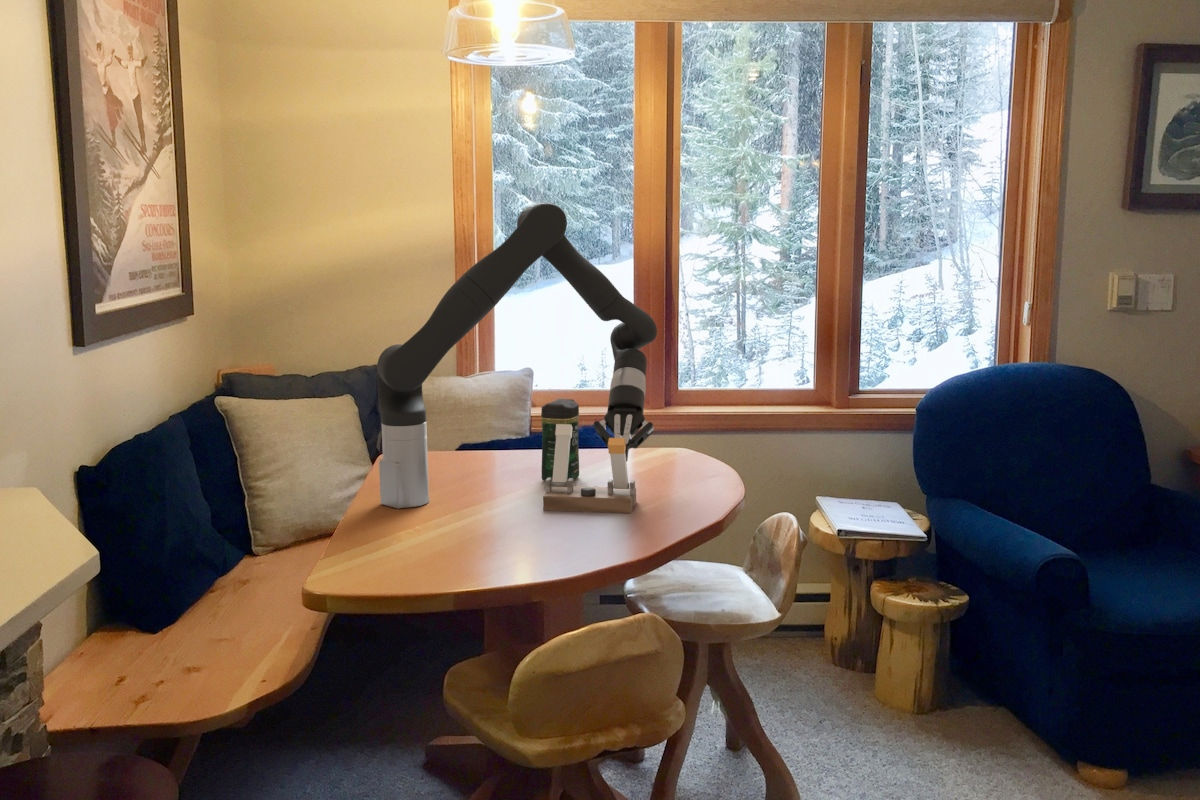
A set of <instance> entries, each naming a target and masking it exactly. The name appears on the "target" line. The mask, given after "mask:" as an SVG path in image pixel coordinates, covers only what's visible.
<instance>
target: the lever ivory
mask: <svg viewBox="0 0 1200 800" xmlns="http://www.w3.org/2000/svg"><path fill="white" fill-rule="evenodd" d="M572 429H573V427H572V425H571V424H556V432H555V435H556V444H555V456H554V467H553V478H552V482H551V486H552V487H567V475H568V463H569V451H570V440H571V438H572Z"/></svg>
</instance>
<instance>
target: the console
mask: <svg viewBox="0 0 1200 800" xmlns="http://www.w3.org/2000/svg"><path fill="white" fill-rule="evenodd" d="M544 483H545V484H544V486H545V487H544V488H545V490H544V491H545V494H543V496H542V497H543V498H542V502H543V503H542V504H543V507H542V508H543V511H548V510H551V511H552V512H553V511H554V512H559V511H560V512H578V511H584V512H585V513H608V512H610V513H614V514H617V513H618V514H632V511H633V509H634V507H635V505H636V503H637V488H636V480H635V479H631V480H630V482H629V489H613V478H612V479H611V478H610V479H608V481H607V486H584V485H583V486H582V485H580V486H578V485H577V486H576V485H574V480H573V478H569V479H568V481H567V487H552V486H551V478H547V479H546V480H545V481H544ZM551 511H550V512H551ZM584 512H583V513H584ZM610 513H609V514H610Z"/></svg>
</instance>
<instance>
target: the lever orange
mask: <svg viewBox="0 0 1200 800" xmlns="http://www.w3.org/2000/svg"><path fill="white" fill-rule="evenodd" d="M607 449H608V450H607V451H608V454H610V455H609V457H610V463H611V464H610V465H611V471H612V472H611V473H612V479H613V489H629V488H630V482H629V474H628V467H627V466H628V465H627V464H628V463H627V462H626V454H625V449H626V443H625V438H623V437H622V438H614V437H611V438H609V441H608V446H607Z"/></svg>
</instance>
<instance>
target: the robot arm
mask: <svg viewBox="0 0 1200 800" xmlns="http://www.w3.org/2000/svg"><path fill="white" fill-rule="evenodd" d="M567 221H568V220H567V216H566V213H565V212H564V210H563V208H561V207H560V206H558V205H557V204H554V203H551V202H538V203H536V204H531V205H528V206H527V207H525V208H524V209H523V210H522V211H520V213H519V215H518V217H517V221H516V226H517V227H516V228H515V230H513V232H512V233H511V234H510V235H509V237H508V238H506V239H505V240H504V242H503V243H502V244H501V245H499V246H498V247H496V248H495V249H494V250H493V251H490V253H488V254H487V255H485V256H484V257H483V258H482V259H479V261H477V262H476V263H475V264H473V265H472V266H471V267H470V268H469V269H468V270H467V271H465V272H464V273H462V275H461V276H460V277H459V278H458V280H456V281H455V282H454V283H453V285H451V286H450V288H448V289H447V291H446V292H445V294H444V295H443V296H442V298H441V299H440V301H439V302H438V303H437V305H436V307H435V309H434V311H432V314H431V315H430V317H429V318H428V319H427V321H426V322H425V324H424V325H423V326H421V328H420V329H419V330H418V331H417V332H416V333H415V334H413V335H412V336H411V337H410V338H409V339H408V340H407V341H405V342H404V343H403V344H401V343H400V344H393V345H391V346H388V347H387V348H385V349H384V350H383V351H381V354H380V355H379V357H378V361H377V365H376V374H377V375H376V377H377V380H376V381H377V395H378V406H379V411H380V421H381V440H382V442H381V444H382V459H379V460H378V468H379V469H378V470H379V473H378V474H379V494H380V495H379V497H380V505H384V506H387V507H391V508H395V509H403V508H415V507H420V506H423V505H426V504H428V503H429V502H430V493H429V492H430V490H429V489H430V487H429V486H430V485H429V467H428V465H429V462H428V437H427V436H428V433H427V410H426V409H427V408H426V406H425V402H424V397H423V383H424V382H425V381H426V380H427V379H428V378H429V375H431V373H432V372H433V371H434V370H435V368H436V367H437V366H438V364H439V363H440V362H441V361H442V359H443V358H444V357H445V356H446V355H447V353H448V352H449V351H451V349H452V348H453V347H454V346H455V345H456V344H457V343H458V342H460V341H461V340H462V339H463V338H464V337H465V336H466V335H467V334H468V333H469V332H470V331H471V330H473V329H474V327H476V325H478V324H479V323H480V322H481V320H483V319H484V318H485V317H486V316H487V315H488V314H489V313H490V312H491V311H492V310H493V309H494V307H496V305H497V304H498V303H499V302H500V301H501V300H502V298H504V297H505V295H506V294H507V293H508V292H509V291H510V290H511V289H512V288H513V287H514V285H515V284H516V283H517V282H518V280H519V279H520V278H521V276H522V275H523V274H524V273H525V272H526V271H527V270H528V268H530V267H531V266H532V265H533V264H534V263H536V261H538V260H539V259H540V258H541V257H542V258H544V259H545V260H546V261H548V263H550V264H551V266H553V267H554V268H555V269H556V270H557V271H558V273H560V274H561V276H562V277H563V278H564V279H565V280H566V281H567V282H568V284H569V285H570V286H571V287H572V289H574V290H575V291H576V293H577V294H578V295H579V296H580V298H581V299H583V301H584V302H585V303H586V304H587V305H588V307H589V308H590V309H591V310H592V311H593V312H594V314H595V315H596V316H597V317H598V318H599V320H601V321H603V322H611V321H614V320H615V321H620V323H618V324H616V325H615V327H614V328H613V329H612V332H611V333H610V337H609V338H610V346H611V349H612V354H613V355H612V356H613V360H614V364H613V371H612V377H611V382H610V389H609V396H608V405H607V411H606V413H605V415H604V417H603V419H602V420H600V421H598V420H595V421H594V422H593V427H594V431H595V433H596V434H597V435H598V437H599V438H600V439H601V440H602V442H603V443H604V444H605V445H606V446H607V447H608V441H609V438H612V436H611V435H610V434H609V433H608V431H607V427H608V429H609V430H610V431H611V433H612V434H613V435H614V437H613V438H625V443H626V449H625V454H626V463H627V462H628V459H629V450H630V449H632V448H633V449H637V448H638V447H639V446H641V445H642V444H643V443H644V442H645V441H646V440H647V439H648V438H649V437H650V436H651V435H653V433H654V430H655V429H654V423H653V422H652V421H649V422H648V421H647V420H646V419H645V418H646V417H645V415H644V408H645V407H644V406H645V398H646V393H647V392H646V389H647V388H646V387H647V385H646V374H647V365H648V363H647V361H648V360H647V357H646V355H645V353H644V352H643V351H641V350H640V349H642V348H644V347H645V346H648V345H650V344H651V343H653V342H654V340H656V339H657V336H658V328H657V325H656V323H655V321H654V319H653V318H652V317H651V316H650V314H648V313H647V312H646V311H645V310H643V309H641V308H640V307H639V306H637V305H636V304H634V303H633V302H631V301H630V300H629V299H627V298H626V297H624V296H623V295H622V293H621V292H620V291H619V290H618V289H617V288H616V287H615V285H614V284H613V283H612V282H611V280H610V279H609V278H608V277H607V276H606V275H605V274H604V273H603V272H602V271H601V270H600V269H598V268H597V266H595V265H594V264H592V262H590V261H589V260H588V259H586V257H584V255H582V254H581V253H580V252H579V251H578V250H577V249H576V248H575V247H574V245H573V244H572V243H571V242H570V240H568V238H567V235H566V231H567V228H568V227H567V225H568V222H567ZM606 426H607V427H606Z"/></svg>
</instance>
